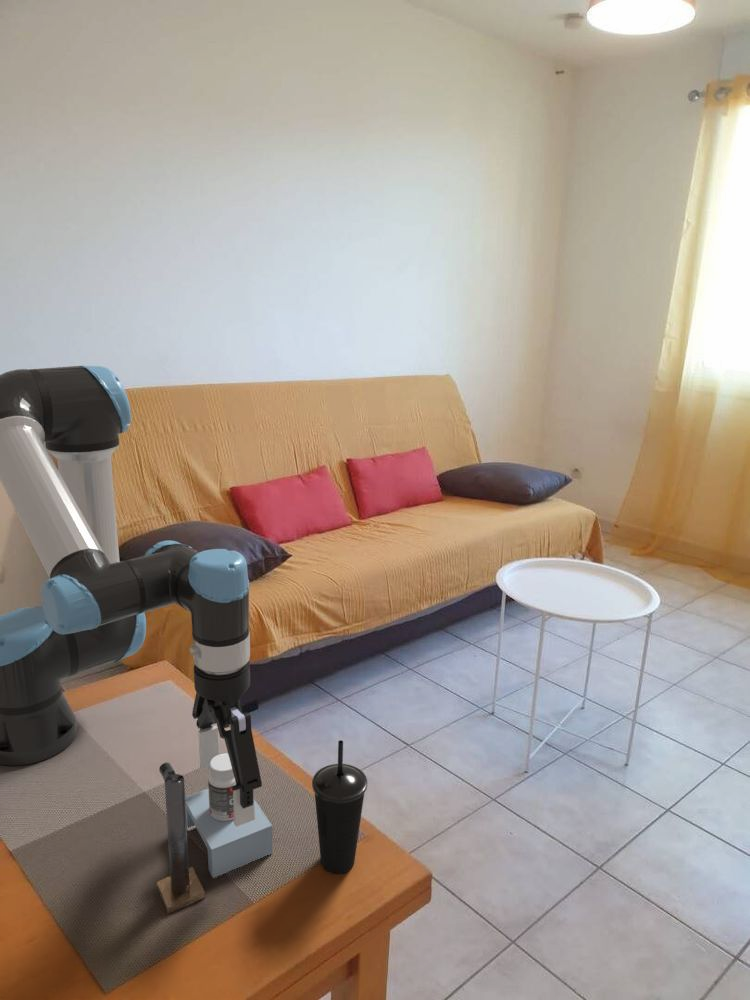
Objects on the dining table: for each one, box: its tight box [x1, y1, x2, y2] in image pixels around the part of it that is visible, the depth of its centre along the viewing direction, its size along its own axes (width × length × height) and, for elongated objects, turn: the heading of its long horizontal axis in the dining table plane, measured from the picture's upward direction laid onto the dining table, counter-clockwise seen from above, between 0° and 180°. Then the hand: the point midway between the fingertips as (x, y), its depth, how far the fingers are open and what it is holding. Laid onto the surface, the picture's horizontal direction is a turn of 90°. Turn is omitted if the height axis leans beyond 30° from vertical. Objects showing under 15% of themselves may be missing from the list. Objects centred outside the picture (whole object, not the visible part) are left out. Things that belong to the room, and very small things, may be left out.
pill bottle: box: [207, 752, 236, 821], centre depth 104 cm, size 5×5×8 cm
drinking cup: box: [311, 740, 368, 875], centre depth 100 cm, size 8×8×20 cm
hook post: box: [155, 762, 206, 915], centre depth 95 cm, size 6×5×18 cm
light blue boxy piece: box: [185, 787, 273, 879], centre depth 106 cm, size 12×9×5 cm
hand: (226, 792), depth 104 cm, fingers open, 13 cm apart
